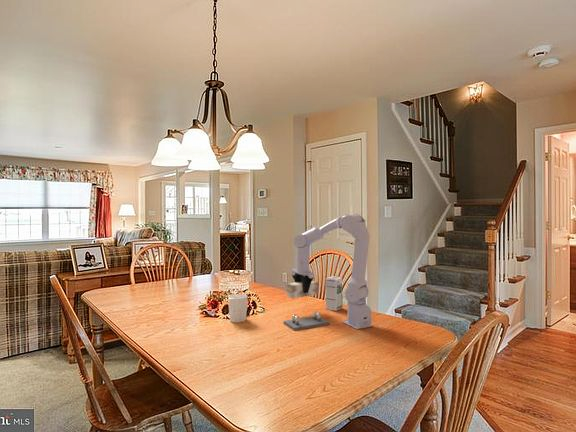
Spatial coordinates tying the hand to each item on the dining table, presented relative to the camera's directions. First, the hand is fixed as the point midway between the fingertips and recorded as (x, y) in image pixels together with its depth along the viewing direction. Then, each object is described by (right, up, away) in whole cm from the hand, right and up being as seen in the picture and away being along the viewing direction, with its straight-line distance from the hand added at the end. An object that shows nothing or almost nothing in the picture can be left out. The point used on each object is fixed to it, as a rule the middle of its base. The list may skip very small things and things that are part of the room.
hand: (302, 291), depth 161 cm
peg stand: (+1, -10, -15) cm, 18 cm away
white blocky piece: (0, -2, 0) cm, 2 cm away
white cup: (-27, -10, -10) cm, 31 cm away
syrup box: (+15, -9, +7) cm, 19 cm away
